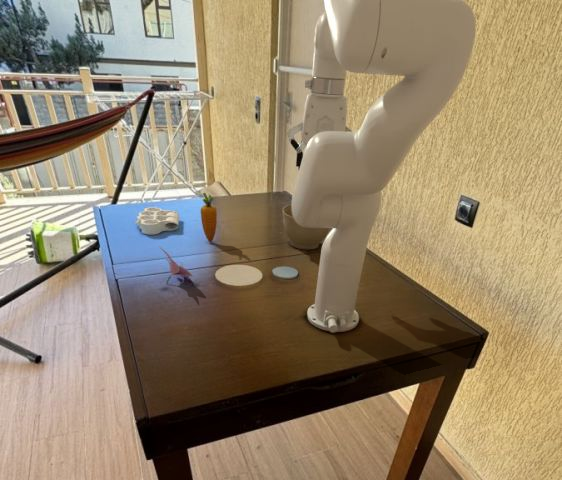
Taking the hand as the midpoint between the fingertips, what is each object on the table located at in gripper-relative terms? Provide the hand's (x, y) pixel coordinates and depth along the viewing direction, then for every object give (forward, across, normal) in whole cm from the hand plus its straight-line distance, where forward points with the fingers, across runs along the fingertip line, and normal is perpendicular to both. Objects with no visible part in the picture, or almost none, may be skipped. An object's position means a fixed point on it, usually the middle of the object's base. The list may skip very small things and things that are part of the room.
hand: (318, 171), depth 100 cm
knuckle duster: (+26, -51, +29) cm, 64 cm away
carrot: (+26, -31, +16) cm, 44 cm away
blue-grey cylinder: (+26, -7, -7) cm, 28 cm away
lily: (+26, -35, -14) cm, 46 cm away
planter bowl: (+26, 0, +18) cm, 32 cm away
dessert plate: (+26, -20, -9) cm, 34 cm away
